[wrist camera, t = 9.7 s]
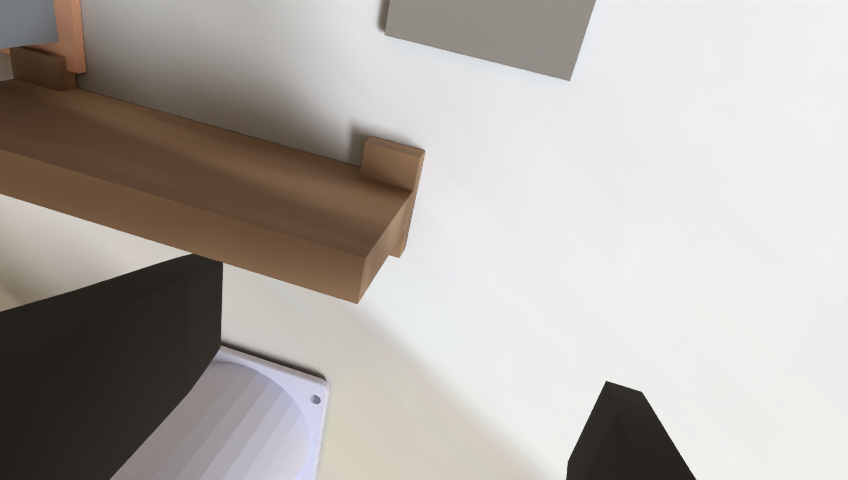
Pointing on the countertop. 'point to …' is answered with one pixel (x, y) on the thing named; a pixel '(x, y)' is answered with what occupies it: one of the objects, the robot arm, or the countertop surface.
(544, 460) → the countertop surface
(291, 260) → the walnut screen
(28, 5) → the lettered cube
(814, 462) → the countertop surface
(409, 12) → the grey slate tile
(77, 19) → the terracotta tile
